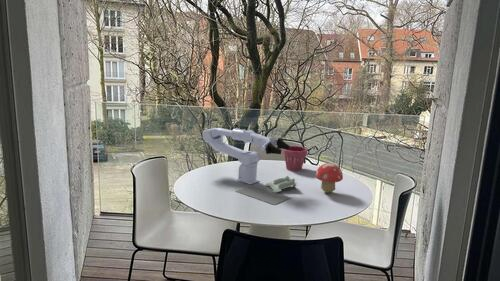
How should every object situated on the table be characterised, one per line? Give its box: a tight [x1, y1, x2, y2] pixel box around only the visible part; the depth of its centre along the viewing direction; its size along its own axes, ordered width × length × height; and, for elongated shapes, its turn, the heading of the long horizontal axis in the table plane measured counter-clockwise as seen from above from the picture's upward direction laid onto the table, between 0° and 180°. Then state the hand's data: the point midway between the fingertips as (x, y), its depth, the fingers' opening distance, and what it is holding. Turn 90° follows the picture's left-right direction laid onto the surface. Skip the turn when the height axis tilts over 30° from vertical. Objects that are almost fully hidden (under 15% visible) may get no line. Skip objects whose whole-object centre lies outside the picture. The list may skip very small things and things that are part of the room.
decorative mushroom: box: [315, 162, 344, 194], centre depth 185 cm, size 13×13×15 cm
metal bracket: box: [265, 175, 298, 193], centre depth 190 cm, size 14×6×15 cm
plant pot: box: [282, 145, 308, 172], centre depth 225 cm, size 14×14×13 cm
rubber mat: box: [235, 184, 292, 206], centre depth 180 cm, size 24×13×1 cm, turn 49°
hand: (285, 150), depth 184 cm, fingers open, 7 cm apart
